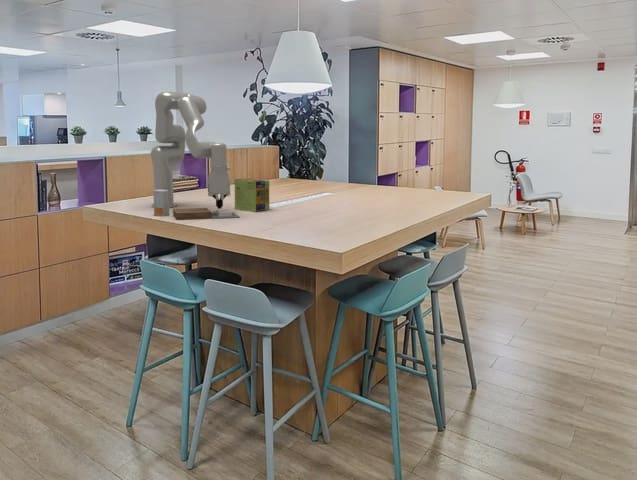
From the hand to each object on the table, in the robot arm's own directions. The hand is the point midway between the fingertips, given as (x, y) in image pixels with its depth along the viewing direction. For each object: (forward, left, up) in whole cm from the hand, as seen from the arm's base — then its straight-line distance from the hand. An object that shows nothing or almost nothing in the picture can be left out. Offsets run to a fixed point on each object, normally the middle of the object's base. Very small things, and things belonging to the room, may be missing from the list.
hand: (219, 208), depth 266 cm
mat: (0, +1, -4) cm, 4 cm away
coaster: (0, +2, -1) cm, 2 cm away
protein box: (-16, +20, -4) cm, 26 cm away
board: (0, -13, -4) cm, 14 cm away
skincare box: (-9, -26, -4) cm, 28 cm away
